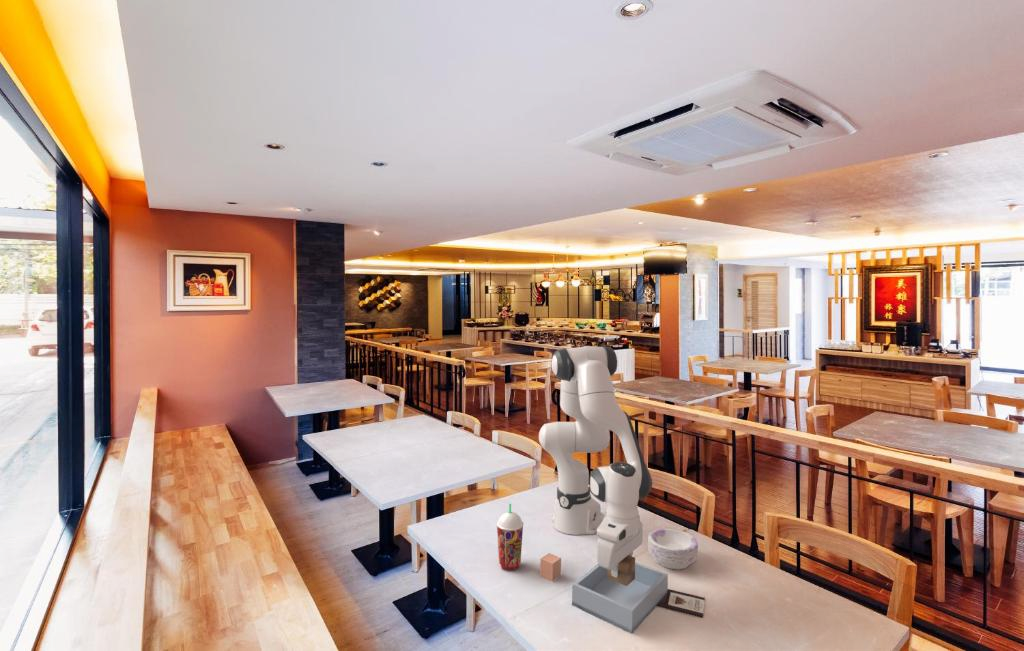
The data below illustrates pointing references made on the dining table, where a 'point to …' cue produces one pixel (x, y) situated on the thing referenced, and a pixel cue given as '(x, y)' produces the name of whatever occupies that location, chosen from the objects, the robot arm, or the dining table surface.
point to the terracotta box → (550, 567)
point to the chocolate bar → (683, 603)
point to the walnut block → (624, 571)
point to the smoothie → (509, 540)
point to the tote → (620, 596)
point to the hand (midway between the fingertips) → (621, 571)
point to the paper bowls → (673, 548)
